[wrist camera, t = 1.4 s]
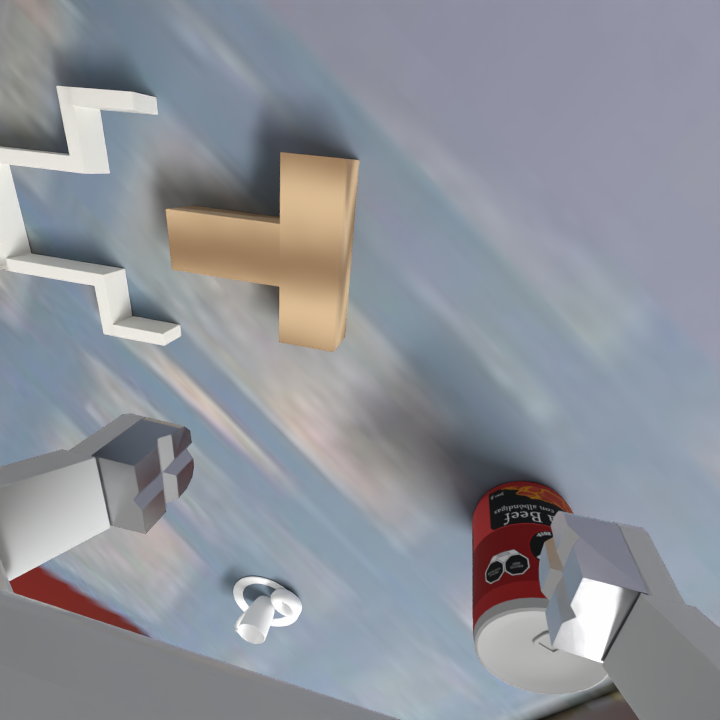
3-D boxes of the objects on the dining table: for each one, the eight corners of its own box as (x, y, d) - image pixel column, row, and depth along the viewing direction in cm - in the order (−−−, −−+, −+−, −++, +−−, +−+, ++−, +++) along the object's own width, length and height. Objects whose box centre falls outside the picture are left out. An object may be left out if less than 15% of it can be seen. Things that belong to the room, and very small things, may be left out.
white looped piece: (303, 581, 45) (289, 617, 41) (310, 629, 48) (297, 666, 44) (230, 567, 47) (210, 600, 43) (241, 614, 50) (223, 649, 46)
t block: (187, 142, 28) (158, 139, 25) (359, 160, 26) (346, 158, 23) (201, 311, 33) (177, 323, 31) (344, 336, 31) (333, 352, 29)
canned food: (590, 496, 32) (644, 640, 22) (547, 564, 35) (577, 713, 26) (492, 464, 33) (501, 589, 23) (459, 533, 36) (456, 666, 27)
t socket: (-23, 83, 30) (-57, 76, 28) (156, 97, 27) (132, 91, 25) (36, 308, 37) (12, 316, 35) (181, 335, 35) (164, 345, 33)
